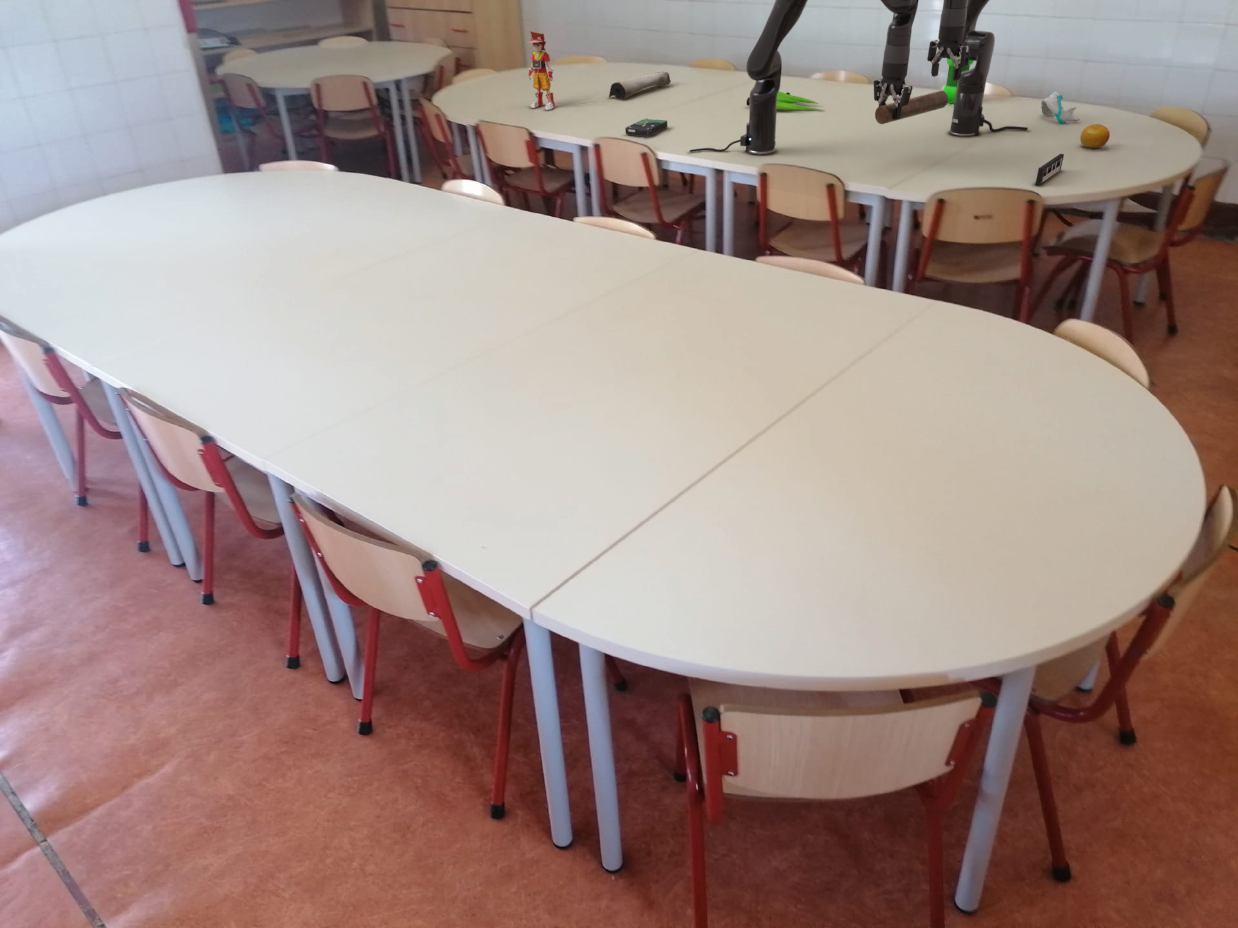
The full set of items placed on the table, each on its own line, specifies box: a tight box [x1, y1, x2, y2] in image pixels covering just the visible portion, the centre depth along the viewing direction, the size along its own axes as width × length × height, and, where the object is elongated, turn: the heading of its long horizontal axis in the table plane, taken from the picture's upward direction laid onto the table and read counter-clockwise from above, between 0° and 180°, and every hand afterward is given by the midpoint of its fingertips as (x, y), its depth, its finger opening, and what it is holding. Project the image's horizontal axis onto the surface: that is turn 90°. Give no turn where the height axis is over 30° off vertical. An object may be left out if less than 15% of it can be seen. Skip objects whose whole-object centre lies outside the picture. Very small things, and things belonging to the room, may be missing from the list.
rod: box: [874, 90, 949, 125], centre depth 286 cm, size 28×5×5 cm, turn 123°
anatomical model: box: [1040, 91, 1081, 124], centre depth 325 cm, size 15×10×10 cm
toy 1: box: [527, 31, 556, 111], centre depth 374 cm, size 12×9×30 cm
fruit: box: [1079, 123, 1111, 149], centre depth 296 cm, size 8×8×8 cm
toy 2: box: [745, 91, 821, 111], centre depth 360 cm, size 28×5×30 cm
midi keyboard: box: [1035, 153, 1065, 186], centre depth 273 cm, size 18×1×5 cm, turn 138°
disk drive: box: [624, 118, 668, 137], centre depth 342 cm, size 10×3×15 cm
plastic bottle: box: [942, 56, 974, 104], centre depth 348 cm, size 10×10×25 cm
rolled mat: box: [608, 71, 672, 101], centre depth 395 cm, size 30×9×10 cm
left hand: (888, 117), depth 282 cm, fingers closed on rod, 5 cm apart
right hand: (945, 78), depth 288 cm, fingers open, 8 cm apart
